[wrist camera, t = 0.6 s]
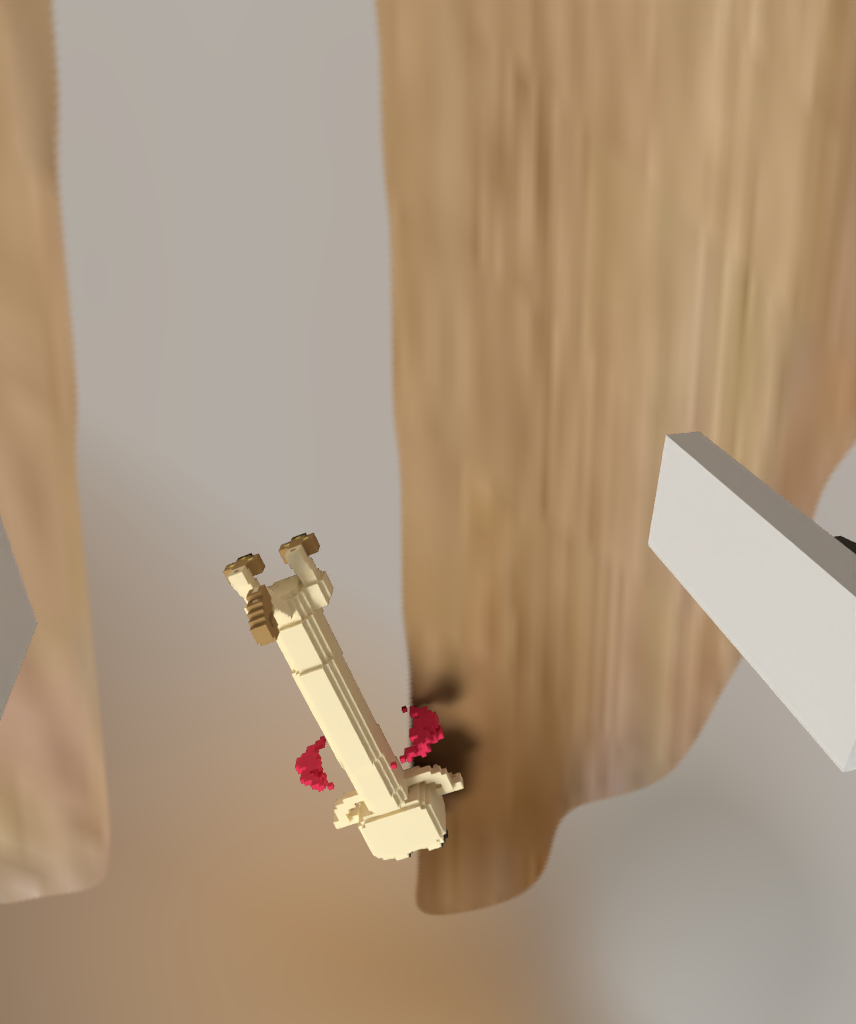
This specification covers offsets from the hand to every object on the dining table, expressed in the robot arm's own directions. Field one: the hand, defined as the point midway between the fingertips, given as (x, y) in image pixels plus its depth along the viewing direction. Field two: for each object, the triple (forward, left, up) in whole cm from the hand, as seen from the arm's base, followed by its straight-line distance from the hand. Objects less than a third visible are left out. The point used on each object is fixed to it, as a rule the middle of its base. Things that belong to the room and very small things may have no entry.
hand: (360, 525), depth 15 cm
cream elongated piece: (+26, +3, -27) cm, 38 cm away
